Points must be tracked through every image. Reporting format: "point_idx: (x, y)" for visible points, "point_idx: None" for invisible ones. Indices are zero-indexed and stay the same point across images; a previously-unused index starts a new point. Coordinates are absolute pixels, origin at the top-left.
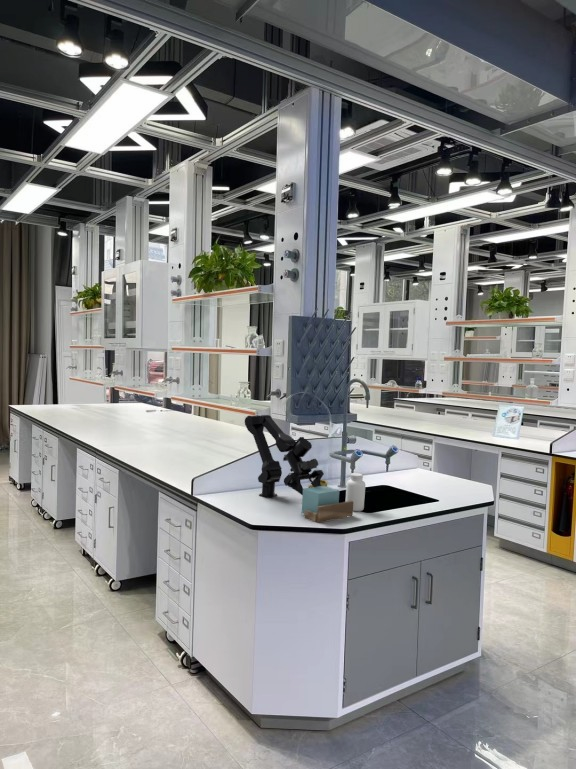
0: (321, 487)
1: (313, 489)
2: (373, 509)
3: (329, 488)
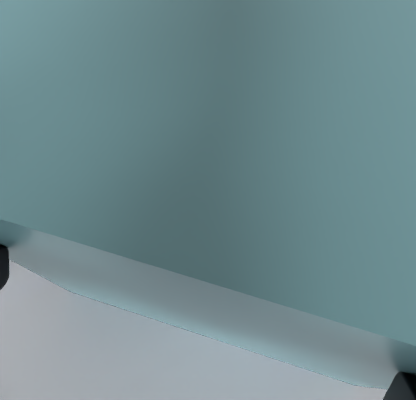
0: (75, 127)
1: (407, 154)
2: None
3: (58, 8)
